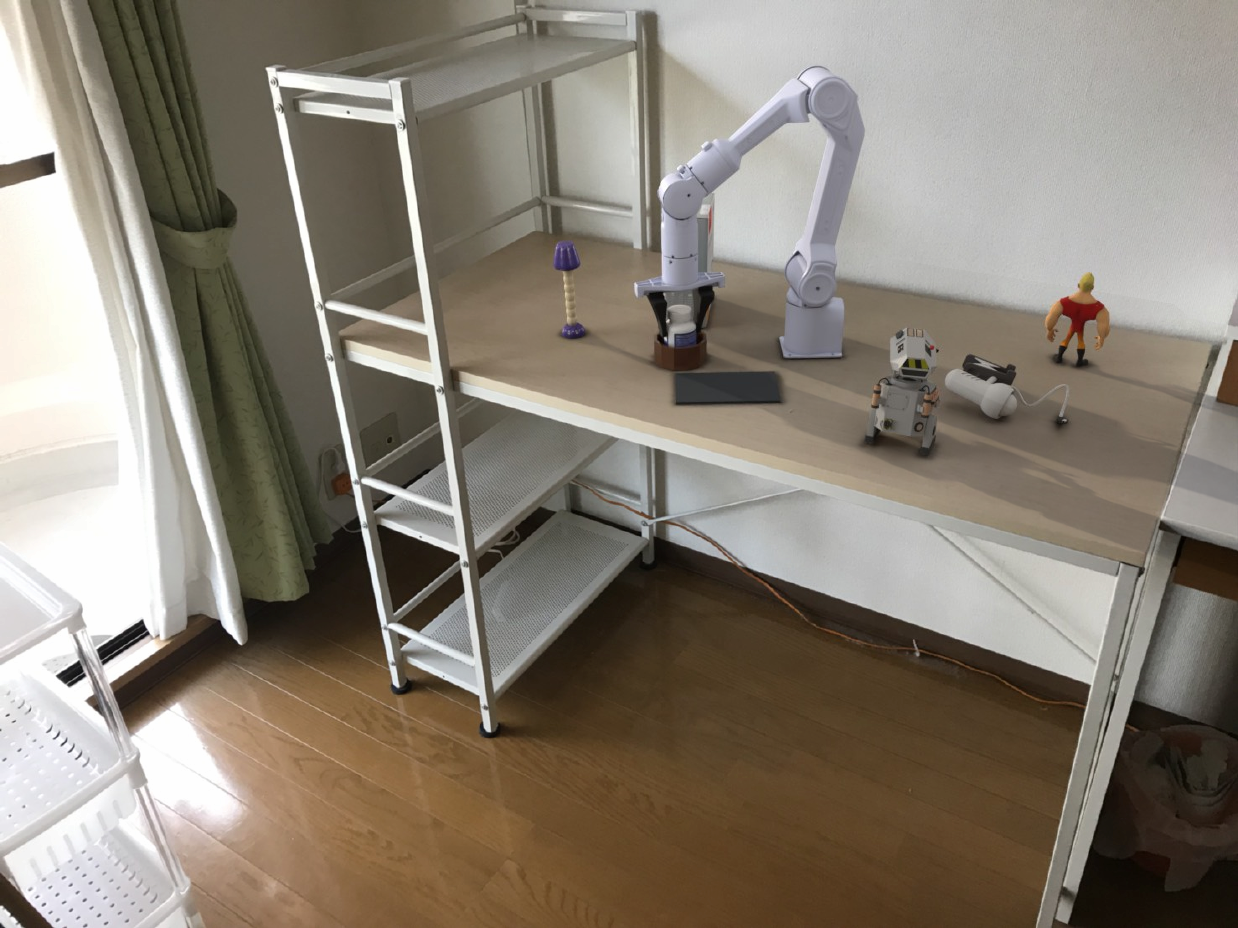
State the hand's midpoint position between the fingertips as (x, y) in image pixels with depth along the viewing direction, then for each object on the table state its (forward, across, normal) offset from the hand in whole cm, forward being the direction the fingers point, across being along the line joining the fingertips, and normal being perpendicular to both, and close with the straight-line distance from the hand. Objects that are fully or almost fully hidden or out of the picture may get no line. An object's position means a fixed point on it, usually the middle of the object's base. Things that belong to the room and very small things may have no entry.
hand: (680, 332), depth 163 cm
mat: (+5, -4, +12) cm, 14 cm away
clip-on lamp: (+5, -41, +31) cm, 52 cm away
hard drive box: (+5, -7, -19) cm, 21 cm away
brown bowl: (+5, 0, 0) cm, 5 cm away
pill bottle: (+5, 0, 0) cm, 5 cm away
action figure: (+5, -59, +20) cm, 62 cm away
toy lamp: (+5, +16, -16) cm, 22 cm away
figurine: (+5, -23, +34) cm, 41 cm away
